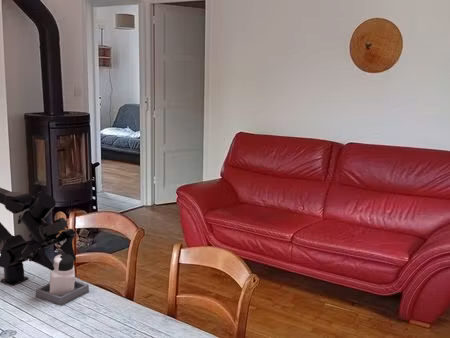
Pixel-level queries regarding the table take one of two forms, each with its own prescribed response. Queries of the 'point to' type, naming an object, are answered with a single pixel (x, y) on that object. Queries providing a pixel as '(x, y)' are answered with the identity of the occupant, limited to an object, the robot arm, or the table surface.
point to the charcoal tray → (61, 300)
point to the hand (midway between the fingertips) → (64, 264)
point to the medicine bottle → (62, 275)
